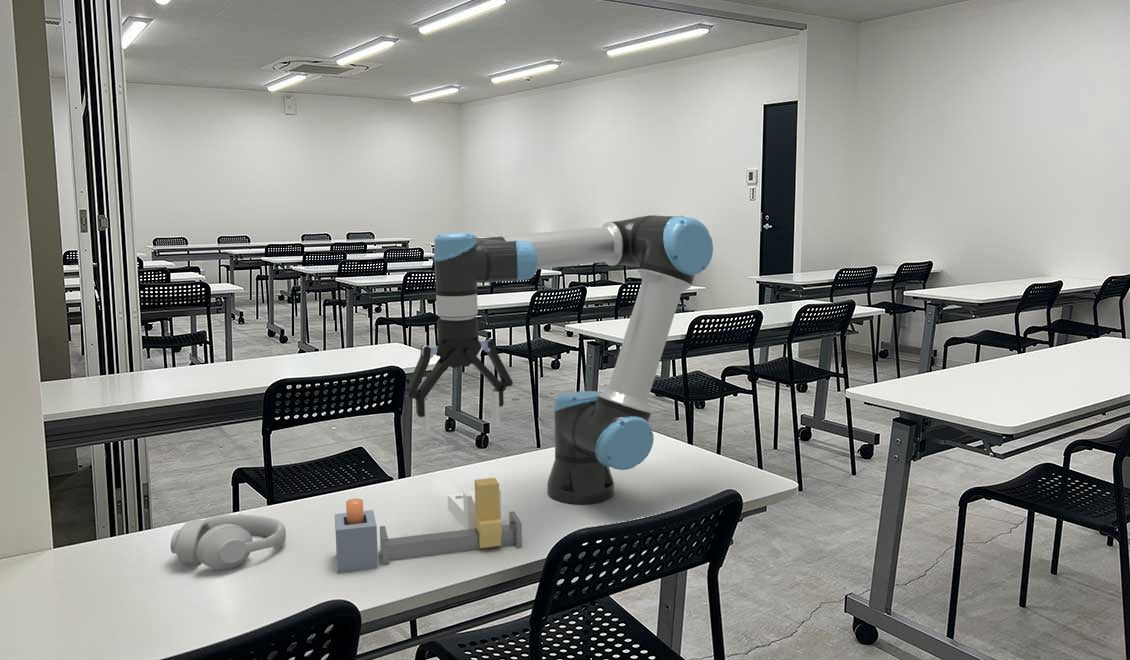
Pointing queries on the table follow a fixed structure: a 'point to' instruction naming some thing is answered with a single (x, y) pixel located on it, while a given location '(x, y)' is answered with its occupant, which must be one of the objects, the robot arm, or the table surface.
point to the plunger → (354, 511)
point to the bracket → (465, 507)
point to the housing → (356, 543)
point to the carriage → (487, 512)
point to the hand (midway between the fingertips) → (461, 428)
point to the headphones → (225, 539)
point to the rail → (444, 541)
